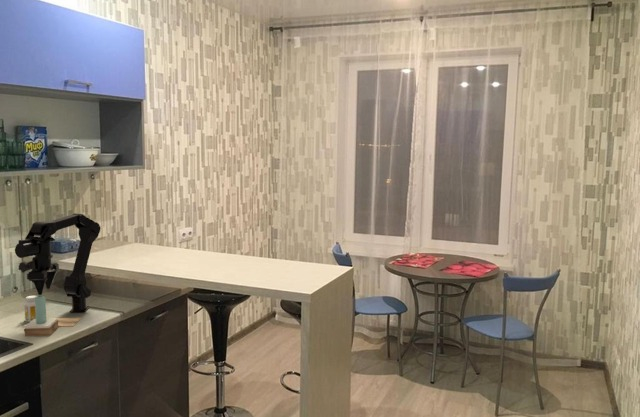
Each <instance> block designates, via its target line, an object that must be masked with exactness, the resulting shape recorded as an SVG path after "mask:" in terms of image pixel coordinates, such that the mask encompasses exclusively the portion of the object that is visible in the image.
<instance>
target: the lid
mask: <svg viewBox="0 0 640 417" xmlns="http://www.w3.org/2000/svg"><path fill="white" fill-rule="evenodd" d="M36 296H37V297H35V313H36V319H33V320H32V321H31V322H28V323H27V324H26V325H25V326H24V329H27V328H49V327H51V326H52V325H53V324H54V323H55V322H56V321H57V318H58V317H54V318H47V306H46V301H47V300H46V296H45V295H36Z"/></svg>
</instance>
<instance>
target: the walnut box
mask: <svg viewBox="0 0 640 417" xmlns="http://www.w3.org/2000/svg"><path fill="white" fill-rule="evenodd" d="M57 329H59V327H58V320H57V321H56V322H55V323H54V324H53V325H52V326H51V327H49V328H27V329H25V328H24V329H23V332H24V337H45V336H46V337H49V336H52V334H54V332H56V330H57Z"/></svg>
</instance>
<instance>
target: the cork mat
mask: <svg viewBox="0 0 640 417" xmlns="http://www.w3.org/2000/svg"><path fill="white" fill-rule="evenodd" d="M56 318H57V320H58V328H64V327H65V328H70V327H74V326H76V324H77V323H78V322H79V321H80V320H82V317H80V316H79V317H56Z"/></svg>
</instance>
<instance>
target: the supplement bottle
mask: <svg viewBox="0 0 640 417" xmlns="http://www.w3.org/2000/svg"><path fill="white" fill-rule="evenodd" d="M37 296H38V295H29V296H26V297H25V302H24V306H23V307H24V320H25V322H28V323H30V322H31V321H32V320H33V319H36V313H35V297H37Z"/></svg>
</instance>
